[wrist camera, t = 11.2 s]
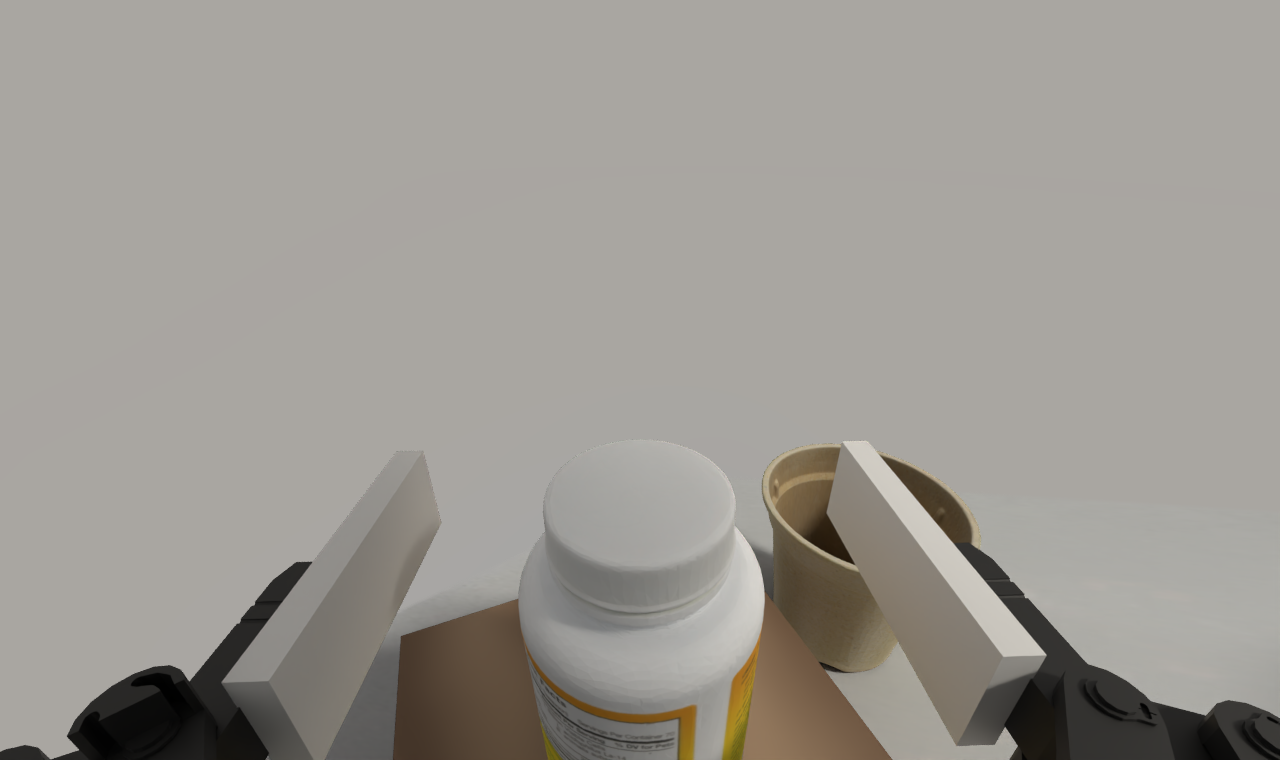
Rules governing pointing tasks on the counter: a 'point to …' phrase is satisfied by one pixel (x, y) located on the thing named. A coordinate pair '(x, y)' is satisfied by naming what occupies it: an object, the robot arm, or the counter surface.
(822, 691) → the block
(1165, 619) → the counter surface
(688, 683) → the supplement bottle
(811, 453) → the flower pot
